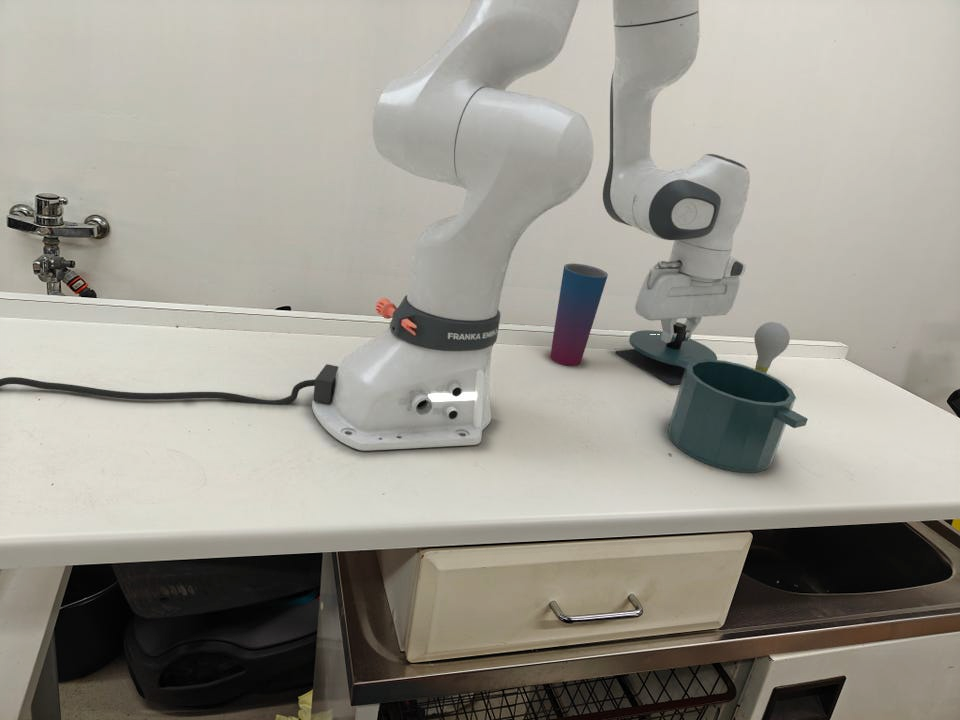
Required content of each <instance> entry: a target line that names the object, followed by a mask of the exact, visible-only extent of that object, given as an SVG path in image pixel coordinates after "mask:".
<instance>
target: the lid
mask: <svg viewBox="0 0 960 720" xmlns="http://www.w3.org/2000/svg"><path fill="white" fill-rule="evenodd" d="M673 328H674V332H675V333H677V335H676V338H675V341H674V342H671V343H666V342H664V341H662V340H661V336H662V332H663V331H661V330H652V329H651V330H647V329H645V330H637V331H633V332H632V333H631V334H630V335H629V338H628V343H629V344H630V346H631V347H632V349H636V350H637V351H639V352H640V353H642V354H644V355H646V356H648V357H650V358H653V359H655V360H658V361H661V362H664V363H667V364H671V365H675V366H679V365H678V364H676V361H677V358H678V357H684V356H690V357H692V358H694V359H696V360H703V359H711V360H718V355H717V354H716V353H715V352H714V351H713V349H711V348H710V347H708V346H707V345H705V344H703V343H700V342H699V341H697V340H694V339H691V338H690V340H689V341H683V338H684V334H685V331H686V328H687V326H686V325H685V324H684V323H683V322H679V321H677V322H676V324H673ZM650 334H656V335H650ZM657 334H660V335H657ZM680 367H681V366H680Z"/></svg>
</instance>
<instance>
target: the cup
mask: <svg viewBox="0 0 960 720" xmlns="http://www.w3.org/2000/svg"><path fill="white" fill-rule="evenodd" d="M608 276H609V274H608V273H607V271H605V270H604V269H601V268H599V267H595V266H592V265H588V264H583V263H565V264H564V265H563V271H562V277H561V284H560V289H559V290H560V291H559V296H558V297H559V298H558V302H557V303H558V304H557V309H556V315H555V323H554V329H553V336H552V343H551V347H550V355H549V356H550V359H551V360H552V361H553V362H556V363H557V364H560V365H564V366H569V367H575V366H579V365H581V363H582V361H583V357H584V354H585V350H586V347H587V344H588V340H589V337H590V335H591V332H592V327H593V325H594V321H595V318H596V315H597V312H598V308H599V306H600V302H601V298H602V296H603V293H604V289H605V286H606V282H607V279H608Z"/></svg>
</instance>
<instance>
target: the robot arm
mask: <svg viewBox="0 0 960 720" xmlns="http://www.w3.org/2000/svg"><path fill="white" fill-rule="evenodd" d="M579 4H580V0H471V1H470V2H469V5H468V8H467V10H466V12H465V13H464V16H463V17H462V19H461V22H460V23H459V24H458V26H457V27H456V29H455V30H454V31H453V33H452V34H451V35H450V37H449V38H448V39H447V40H446V42H444V43H443V45H442V46H441V47H439V49H438V50H437V51H436V52H434V53H433V55H432V56H431V57H429V59H427V60H426V61H425V62H424V63H422V64H421V65H420V66H418V67H416V68H415V69H413V70H412V71H409V72H408V73H406V74H404V75H401V76H399V77H396V78H395V79H393V80H391V81H390V82H389V83H388V84H387V85H386V86H385V87H383V89H382V91H381V92H380V94H379V95H378V97H377V99H376V101H375V104H374V106H373V110H372V115H371V134H372V138H373V142H374V145H375V148H376V151H377V152H378V153H379V155H380V156H381V158H382V159H384V160H385V161H386V162H388V163H390V164H392V165H393V166H396V167H397V168H399V169H401V170H403V171H404V172H405V171H406V172H407V173H410V174H411V175H413V176H416V177H418V178H424V179H427V180H431V181H435V182H438V183H443V184H447V185H451V186H455V187H458V188H462V189H463V188H464V189H465V190H466V193H465V198H464V203H463V206H462V208H461V209H460V211H459V212H458V213H457V214H455V215H451V216H447V217H444V218H442V219H439V220H436V221H434V222H432V223H430V224H428V225H427V226H425V227H424V228H423V229H422V230H421V231H420V232H419V233H418V235H417V237H416V239H415V240H414V243H413V250H412V257H411V263H410V272H409V280H408V288H407V294H406V295H405V296H404V297H403V298H402V300H401V302H400V304H399V305H398V306H396V304H394V303H393V302H391V301H390V299H388V298H385V297H382V298H380V299H379V300H378V301H377V302H376V303H375V304H376V305H375V306H374V307H375V311H376V312H377V314H379V315H381V316H382V317H383V318H384V319H386V320H389V319H391V321H390V323H389V327H387V328H385V329H384V330H382V331H381V332H380V333H378V334H377V335H375V337H373V338H371V339H370V340H368V341H367V342H365V343H364V344H363V345H361V346H359V347H358V348H356V349H355V350H353V351H352V352H350V353H349V354H346V355H345V356H344V357H343V358H342V360H341V361H340V363H339V365H333V364H327V363H326V364H325V365H324V367H323V368H322V369H321V371H320V372H319V373H318V375H317V376H316V377H315V378H314V379H306V380H303V381H300V382H298V383H296V384H295V385H294V386H293V388H292V390H291V393H290V395H289V396H286V397H285V398H280V399H262V398H256V397H252V396H247V395H242V394H237V393H233V392H224V391H183V392H182V391H180V392H179V391H178V392H133V391H131V392H129V391H119V390H112V389H111V390H110V389H102V388H97V387H91V386H83V385H77V384H70V383H62V382H61V383H59V382H48V381H41V380H37V379H31V378H26V377H18V376H9V377H2V378H0V387H2V386H7V385H19V386H27V387H32V388H36V389H43V390H51V391H52V390H53V391H61V392H62V391H63V392H69V393H70V392H72V393H78V394H85V395H92V396H98V397H104V398H113V399H121V400H123V399H124V400H140V401H141V400H142V401H144V400H146V401H162V400H163V401H164V400H190V399H191V400H193V399H219V400H229V401H236V402H240V403H247V404H255V405H256V404H257V405H267V406H269V405H270V406H271V405H272V406H285V405H288V404H291V403H293V402H295V400H297V398H298V396H299V393H300V391H301V390H302V389H305V388H308V387H313V397H312V403H311V409H312V411H313V414H314V416H315V418H316V420H317V421H318V422H319V424H320V425H321V426H322V427H323V428H324V430H325V431H326V432H328V433H329V434H330V436H332V437H333V438H335V439H336V440H337V441H339V442H340V443H342V444H344V445H346V446H348V447H350V448H352V449H355V450H358V451H364V452H365V451H366V452H367V451H385V450H387V451H388V450H405V449H406V450H407V449H422V448H423V449H424V448H443V447H461V446H463V447H464V446H475V445H479V444H481V442H482V438H483V437H482V435H483V431H484V430H485V429H486V428H487V427H488V425H489V424H490V423H491V421H492V409H491V402H490V401H491V400H490V375H491V360H492V352H493V346H494V345H495V343H496V342H497V339H498V333H499V330H500V329H499V328H500V321H501V311H500V310H499V307H500V303H501V302H500V301H501V296H502V291H503V287H504V284H505V279H506V275H507V271H508V268H509V264H510V260H511V258H512V255H513V252H514V250H515V248H516V246H517V244H518V242H519V241H520V240H521V237H522V236H523V234H524V233H525V232H526V231H527V229H528V228H529V227H530V226H531V225H532V223H534V222H535V221H536V220H537V219H538V218H539V217H541V216H542V215H543V214H545V213H546V212H548V211H549V210H551V209H554V208H555V207H557V206H559V205H562V204H564V203H565V202H567V201H568V200H569V199H571V198H572V197H573V196H575V194H577V193H578V192H579V190H580V189H581V187H582V186H583V185H584V183H585V182H586V180H587V178H588V177H589V175H590V172H591V168H592V164H593V160H594V140H593V135H592V132H591V129H590V126H589V124H588V122H587V120H586V119H585V117H584V116H583V114H581V113H579V112H577V111H575V110H573V109H571V108H569V107H566V106H565V105H562V104H559V103H557V102H554V101H552V100H550V99H547V98H545V97H541V96H537V95H531V94H525V93H520V92H515V91H510V90H506V89H508V87H510V85H512V84H513V83H514V82H515V81H517V80H519V79H521V78H522V77H525V76H528V75H529V74H533V73H535V72H538V71H541V70H543V69H544V68H545V69H546V67H548V66H550V65H551V64H552V63H553V62H554V61H555V60H556V59H557V57H558V56H559V55H560V54H561V52H562V51H563V50H564V47H565V44H566V41H567V38H568V35H569V32H570V29H571V27H572V23H573V21H574V18H575V14H576V12H577V9H578V7H579ZM612 17H613V33H614V65H613V66H614V67H613V71H612V74H611V80H610V87H609V88H610V90H609V158H608V159H609V160H608V167H607V172H606V176H605V180H604V183H603V188H602V202H603V207H604V209H605V212H606V213H607V215H608V216H609V217H610V218H611V219H613V220H614V221H616V222H618V223H620V224H624V225H626V226H630V227H633V228H635V229H636V230H637V229H638V230H640V231H641V232H643V233H646V234H648V235H651V236H653V237H656V238H658V239H661V240H665V241H673V244H672V248H671V252H670V255H669V258H668V261H667V260H660V261H657V263H656V264H655V265H654V266H652V267H650V269H649V271H648V273H647V274H646V276H645V278H644V280H643V282H642V284H641V287H640V290H639V293H638V296H637V299H636V302H635V305H634V310H635V312H636V315H638V316H640V317H641V318H643V319H645V320H648V321H660V324H661V328H662V331H661V332H662V336H661V340H662V341H664V342H666V343H671V342H674V341H675V338H676V335H677V333H675V332H674V328H673V324H676V322H678V319H686V320H685V322H684V323H683V324H685V325H686V326H687V328H686V331H685V334H684V338H683V341H689V340H690V339H691V338H692V334H693V332H694V331H695V330H696V329H697V327H698V326H699V325H700V323H701V322H702V321H701V320H702V318H703V317H705V318H707V317H717V316H726V315H727V314H729V312H730V311H731V310H732V309H733V306H734V304H735V301H736V299H737V296H738V292H739V288H740V284H741V279H740V277H742V276H744V274H745V272H746V269H747V265H746V263H744V262H742V261H740V260H739V259H737V258H735V257H734V256H732V255H731V253H732V250H733V245H734V240H733V239H734V235H735V232H736V230H737V229H738V227H739V225H740V223H741V221H742V217H743V214H744V210H745V208H746V204H747V199H748V195H749V189H750V182H751V179H750V178H751V177H750V175H751V174H750V170H749V169H748V168H747V166H746V165H744V164H743V163H742V162H741V163H740V162H739V161H736V160H734V159H730V158H726V157H724V156H722V155H720V154H719V155H718V154H715V153H705V154H703V155H702V156H701V158H700V159H698V160H696V161H695V162H694V163H691V164H689V165H687V166H684V167H682V168H679V169H674V170H673V169H672V171H669V170H665V169H663V168H659V167H658V166H657V165H656V163H655V162H654V160H653V157H652V156H651V155H652V154H651V139H652V138H651V137H652V136H651V133H652V109H653V106H654V102H655V99H656V98H657V96H658V95H659V94H660V93H661V92H662V91H663V90H665V89H667V88H668V87H671V85H673V84H675V83H676V82H678V81H680V79H681V78H683V77H684V76H685V74H686V73H687V72H688V71H689V70H690V69H691V67H692V66H693V64H694V62H695V61H696V59H697V54H698V50H699V44H700V30H701V29H700V2H699V0H612Z"/></svg>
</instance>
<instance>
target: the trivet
mask: <svg viewBox="0 0 960 720" xmlns="http://www.w3.org/2000/svg"><path fill="white" fill-rule="evenodd" d="M614 353H615V354H616V355H618V356H619V357H621V358H622V359H624V360H626V361H628V362H630V363H632V364H634V366H636V367H638V368H640V369H641V370H643V371H645V372H647V373H649V374H650V375H652V376H654V377H655V378H657V379H659V380H661V381H662V382H664V383H666V384H668V385H669V386H671V387H672V386H678V385H681V382H682V378H683V375H684V372H685V368H683V367H680V366H675V365H671V364H667V363H664V362H661V361H658V360H655V359H653V358H650V357H648V356H646V355H644V354H642V353H640V352H639V351H637V350H636V349H634V348H631V349H622V350H615V352H614Z"/></svg>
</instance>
